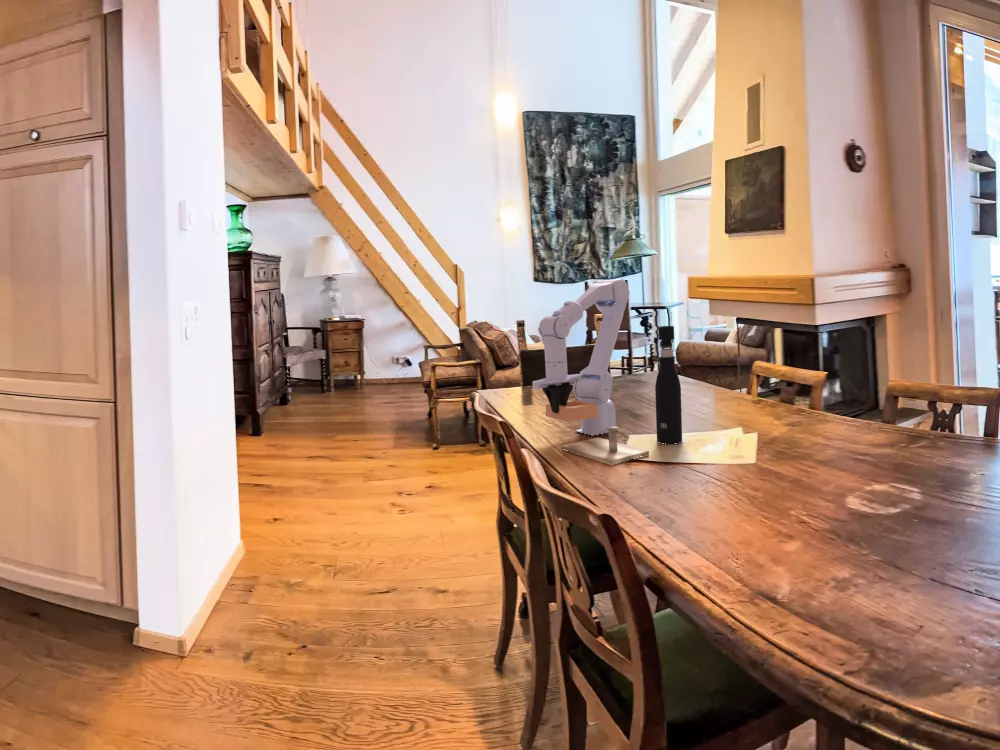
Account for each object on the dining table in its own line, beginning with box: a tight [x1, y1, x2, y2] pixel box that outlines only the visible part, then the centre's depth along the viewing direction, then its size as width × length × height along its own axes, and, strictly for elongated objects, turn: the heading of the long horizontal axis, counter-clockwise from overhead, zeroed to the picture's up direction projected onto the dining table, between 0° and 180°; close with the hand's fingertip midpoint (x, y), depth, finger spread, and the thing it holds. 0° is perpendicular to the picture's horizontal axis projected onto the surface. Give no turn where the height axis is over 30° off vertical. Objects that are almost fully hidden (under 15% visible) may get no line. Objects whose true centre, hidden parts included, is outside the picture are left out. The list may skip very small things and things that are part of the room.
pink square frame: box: [545, 399, 598, 422], centre depth 172 cm, size 10×10×4 cm
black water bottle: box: [654, 325, 683, 445], centre depth 163 cm, size 6×6×30 cm
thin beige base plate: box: [561, 426, 650, 466], centre depth 158 cm, size 12×19×7 cm, turn 30°
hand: (558, 411), depth 170 cm, fingers closed on pink square frame, 2 cm apart
